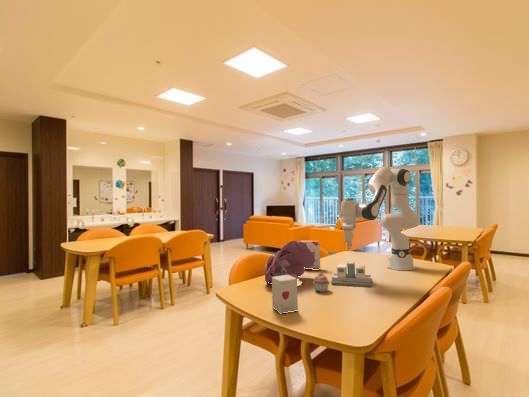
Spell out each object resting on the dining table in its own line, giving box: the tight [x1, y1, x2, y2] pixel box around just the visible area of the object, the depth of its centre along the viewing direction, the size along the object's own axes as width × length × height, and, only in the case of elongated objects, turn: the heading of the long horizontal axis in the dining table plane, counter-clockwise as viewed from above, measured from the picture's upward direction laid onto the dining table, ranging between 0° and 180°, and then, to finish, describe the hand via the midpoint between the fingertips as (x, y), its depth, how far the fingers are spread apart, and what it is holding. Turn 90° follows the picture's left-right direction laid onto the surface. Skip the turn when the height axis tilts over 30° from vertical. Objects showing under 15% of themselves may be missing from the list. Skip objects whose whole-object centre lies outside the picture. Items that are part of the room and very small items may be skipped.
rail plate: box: [330, 263, 372, 288], centre depth 173 cm, size 19×22×9 cm
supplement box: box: [271, 275, 299, 313], centre depth 132 cm, size 9×9×15 cm
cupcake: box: [312, 272, 331, 293], centre depth 158 cm, size 9×9×10 cm
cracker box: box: [298, 239, 321, 269], centre depth 208 cm, size 14×6×21 cm, turn 68°
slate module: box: [346, 261, 356, 278], centre depth 173 cm, size 6×4×9 cm, turn 160°
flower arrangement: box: [263, 240, 315, 283], centre depth 175 cm, size 35×24×28 cm
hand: (349, 247), depth 174 cm, fingers open, 8 cm apart
